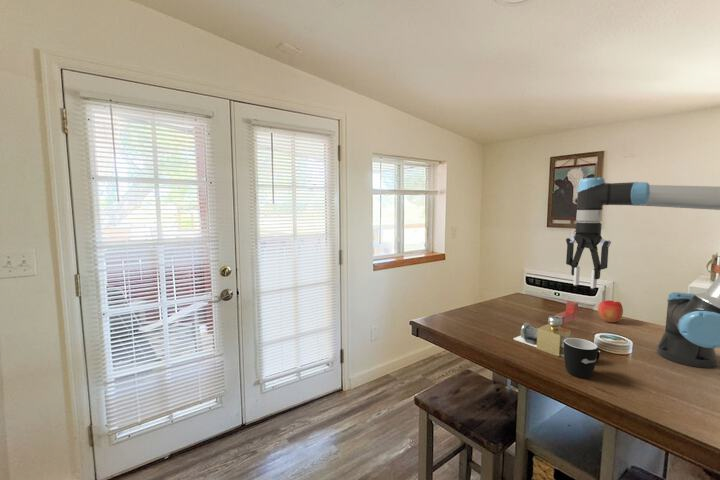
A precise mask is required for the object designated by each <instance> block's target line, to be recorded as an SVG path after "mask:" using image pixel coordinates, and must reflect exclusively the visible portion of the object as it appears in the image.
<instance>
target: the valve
mask: <svg viewBox="0 0 720 480" xmlns="http://www.w3.org/2000/svg"><path fill="white" fill-rule="evenodd" d="M519 332H520V334H519V336H520V335H521V337H522V338H523V339H526V342H527V343H530V344H532V345H534V344H537V347H536V349H537V350H538V351H542V352H544V353H548V354H551V355H552V356H553V355H554V356H556V357H561V356H560V355H561V354H563V353H564V340H565V339H567V338H571V332H572V331H571V329H568V328H565V327H561V326H551V325H549V324H548V323H547V324H544V325H542V326H540V327H534V326H532V324H531V323H530V322H523V324H522V325H521V328H520V331H519Z"/></svg>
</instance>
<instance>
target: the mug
mask: <svg viewBox="0 0 720 480" xmlns="http://www.w3.org/2000/svg"><path fill="white" fill-rule="evenodd" d="M598 348H599V347H598V345H597V343H595V342H592V341H590V340H588V339H583V338H576V337H570V338H567V339H565V340H564V357H563V358H564V359H563V361H564V365H565V366H564V367H565V370H566V372H567V373H568V374H569V375H570V376H572V377H576V378H579V379H589V378H591V377H592V375H594V371H595V368H596V364H597V363H598V362H599V359H600V357H601V356H600V354H601V353H599V351H600V350H599V349H598Z"/></svg>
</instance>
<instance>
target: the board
mask: <svg viewBox="0 0 720 480" xmlns="http://www.w3.org/2000/svg"><path fill="white" fill-rule="evenodd" d="M513 340H514V341H516V342H520V343H522V344H526V345H528V346H531V347H534V348H537V344H534V345H532V344H530V343H527V342H526V339H523V338H522V337H521V335H520V334H519V335H518V336H516V337H513ZM598 351H599V354H601V351H600V350H598ZM559 357H562V358H564V353H563V354H561V355H560V356H559Z"/></svg>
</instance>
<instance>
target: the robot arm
mask: <svg viewBox="0 0 720 480" xmlns="http://www.w3.org/2000/svg"><path fill="white" fill-rule="evenodd" d="M576 203H577V204H576V205H577V206H576V219H575V220H576V221H577V222H576V223H575V234H574V236H573V237H567V238H566V239H565V242H566V258H565V260H566V262H565V264H566V265H567V266H570V267H571V270H570V271H571V272H570V273H571V274H570V275H571V276H573V282H572V284H573V286H579V285H580V275H581V273H580V271H581V267H580V266H579V264H580V260H581V257H582V254H583V252H584V249H589V252H590V254H591V255H590V256H591V260H592V264H593V269H591V274H590V275H591V276H590V289H595V288H597V283H598V281H597V280H599V279H600V278H601V270H605V269H608V261H609V260H608V259H609V247H610V245H611V244H612V242H611V240H606V239H604V238H603V237H602V223H601V221H603V209H604V207H603V206H635V207H636V206H640V207H656V208H657V207H658V208H659V207H661V208H676V209H677V208H678V209H693V210H694V209H695V210H696V209H697V210H711V211H712V210H716V211H720V186H716V185H715V186H714V185H709V186H707V185H704V186H703V185H671V184H670V185H666V184H663V185H661V184H650V183H648V182H645V181H643V182H642V181H632V182H631V181H630V182H615V183H614V182H613V183H612V182H611V183H610V182H609V183H608V182H606V180H605V178H604V177H585V178H581V179H580V180H579V182H578V188H577V201H576ZM575 242H576V243H577V246H576V251H575V253H574V247H575V245H574V243H575ZM599 244H600V245H601V251H600V252H601V253H600V256H599V252H598V245H599ZM667 297H668V298H667V299H666V300H667V307H666V317H665V318H666V319H665V331H664V333H663V335H662V337H661V339H660V340H659V341H658V344H657V346H656V353H657V354H658V355H660V357H662V358H665V359H667V360H669V361H671V362H675V363H678V364H681V365H685V366H690V367H695V368H702V369H703V368H705V369H709V368H711V369H712V368H716V367H717V365H718V356H717V352H716V348H717V349H718V348H719V349H720V274H719V276H717V278H716V279H715V280H714V282H712V284H711V285H710V286H709V287H708V289H707V290H706V291H704V292H700V293H689V292H675V291H674V292H670V293H669V294H668V296H667Z"/></svg>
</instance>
